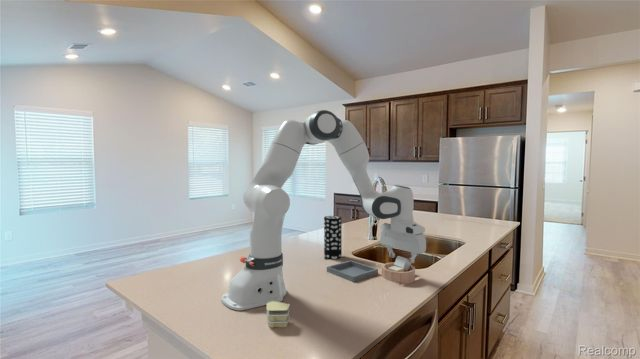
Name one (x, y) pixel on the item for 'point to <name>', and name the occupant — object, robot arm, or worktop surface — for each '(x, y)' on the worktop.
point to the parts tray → (352, 270)
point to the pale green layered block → (277, 314)
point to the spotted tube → (332, 237)
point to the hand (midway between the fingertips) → (401, 259)
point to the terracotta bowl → (398, 274)
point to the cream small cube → (396, 269)
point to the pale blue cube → (402, 263)
